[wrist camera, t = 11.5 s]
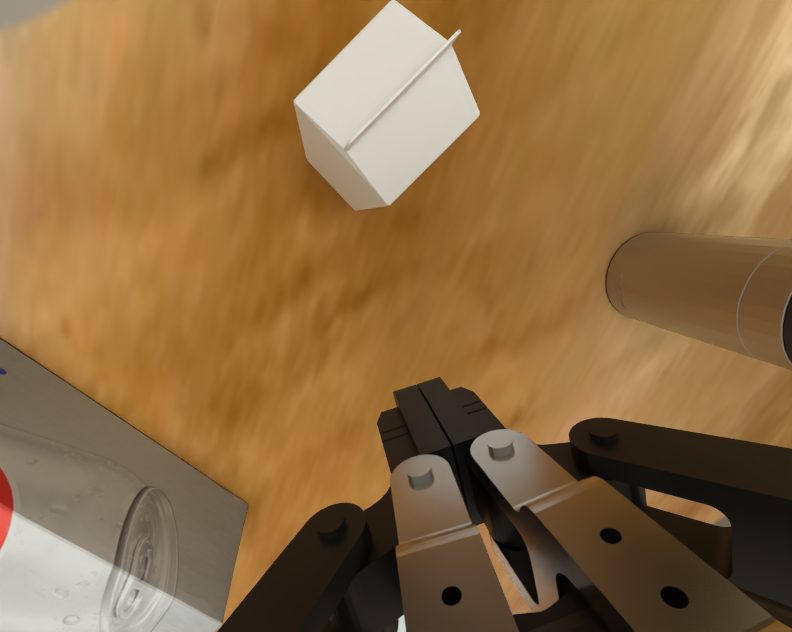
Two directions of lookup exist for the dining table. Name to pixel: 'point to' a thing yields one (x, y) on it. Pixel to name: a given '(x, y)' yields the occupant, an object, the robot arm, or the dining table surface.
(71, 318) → the dining table surface
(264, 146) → the dining table surface
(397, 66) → the milk
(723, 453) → the robot arm
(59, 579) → the soda pack
